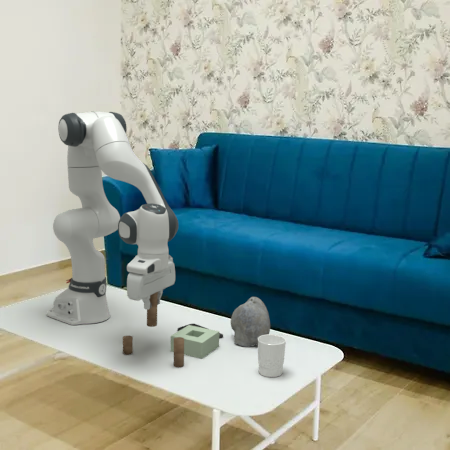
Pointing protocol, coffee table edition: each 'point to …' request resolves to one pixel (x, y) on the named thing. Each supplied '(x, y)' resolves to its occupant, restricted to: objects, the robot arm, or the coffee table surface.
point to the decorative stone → (250, 322)
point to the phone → (198, 326)
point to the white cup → (271, 355)
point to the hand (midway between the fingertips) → (152, 306)
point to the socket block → (197, 341)
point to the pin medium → (178, 352)
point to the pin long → (152, 311)
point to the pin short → (127, 345)
